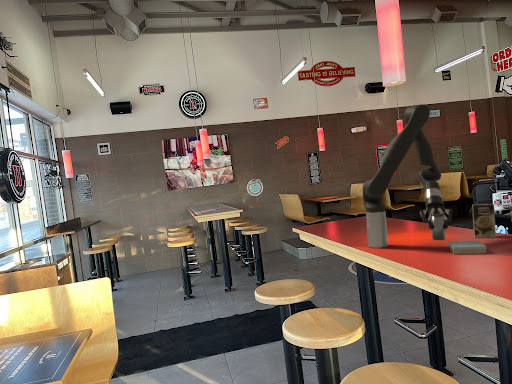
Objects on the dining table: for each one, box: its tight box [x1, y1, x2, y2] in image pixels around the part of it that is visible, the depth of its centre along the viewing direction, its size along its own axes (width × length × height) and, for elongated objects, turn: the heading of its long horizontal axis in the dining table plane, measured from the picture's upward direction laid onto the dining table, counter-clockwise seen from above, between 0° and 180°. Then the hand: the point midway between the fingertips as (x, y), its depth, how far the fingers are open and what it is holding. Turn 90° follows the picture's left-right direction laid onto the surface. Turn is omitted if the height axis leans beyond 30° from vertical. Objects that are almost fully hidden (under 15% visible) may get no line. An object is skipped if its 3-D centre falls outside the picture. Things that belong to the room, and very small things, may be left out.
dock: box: [448, 240, 487, 255], centre depth 160 cm, size 12×12×3 cm
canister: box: [431, 213, 446, 241], centre depth 172 cm, size 6×6×12 cm
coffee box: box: [472, 203, 497, 239], centre depth 186 cm, size 9×6×16 cm
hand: (438, 228), depth 170 cm, fingers closed on canister, 5 cm apart
